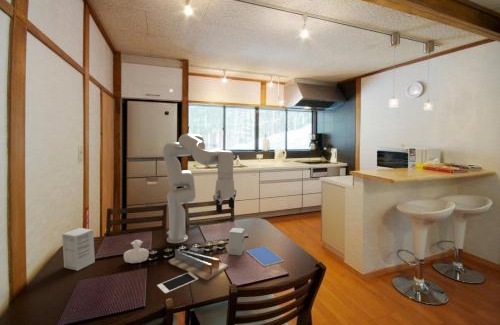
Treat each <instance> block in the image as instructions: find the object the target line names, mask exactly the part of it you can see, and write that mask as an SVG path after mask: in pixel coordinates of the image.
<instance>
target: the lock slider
mask: <svg viewBox="0 0 500 325" xmlns="http://www.w3.org/2000/svg"><path fill="white" fill-rule="evenodd" d="M188 251H189V252H192V253H196V254H200V255H201V249H200V248H197V247H196V246H195V247H194V246H193V247H190V248H189V250H188Z"/></svg>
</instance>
